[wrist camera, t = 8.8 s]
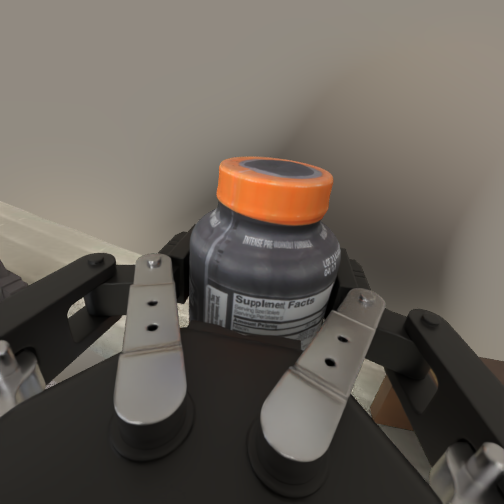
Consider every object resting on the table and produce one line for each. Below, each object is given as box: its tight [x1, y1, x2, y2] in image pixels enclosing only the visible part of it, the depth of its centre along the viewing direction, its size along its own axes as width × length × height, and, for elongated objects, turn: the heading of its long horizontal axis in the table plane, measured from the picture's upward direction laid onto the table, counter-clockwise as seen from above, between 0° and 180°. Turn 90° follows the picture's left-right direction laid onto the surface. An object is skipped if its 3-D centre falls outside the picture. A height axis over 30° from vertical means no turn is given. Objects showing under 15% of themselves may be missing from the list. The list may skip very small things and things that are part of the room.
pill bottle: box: [189, 157, 341, 350], centre depth 12 cm, size 6×6×11 cm
